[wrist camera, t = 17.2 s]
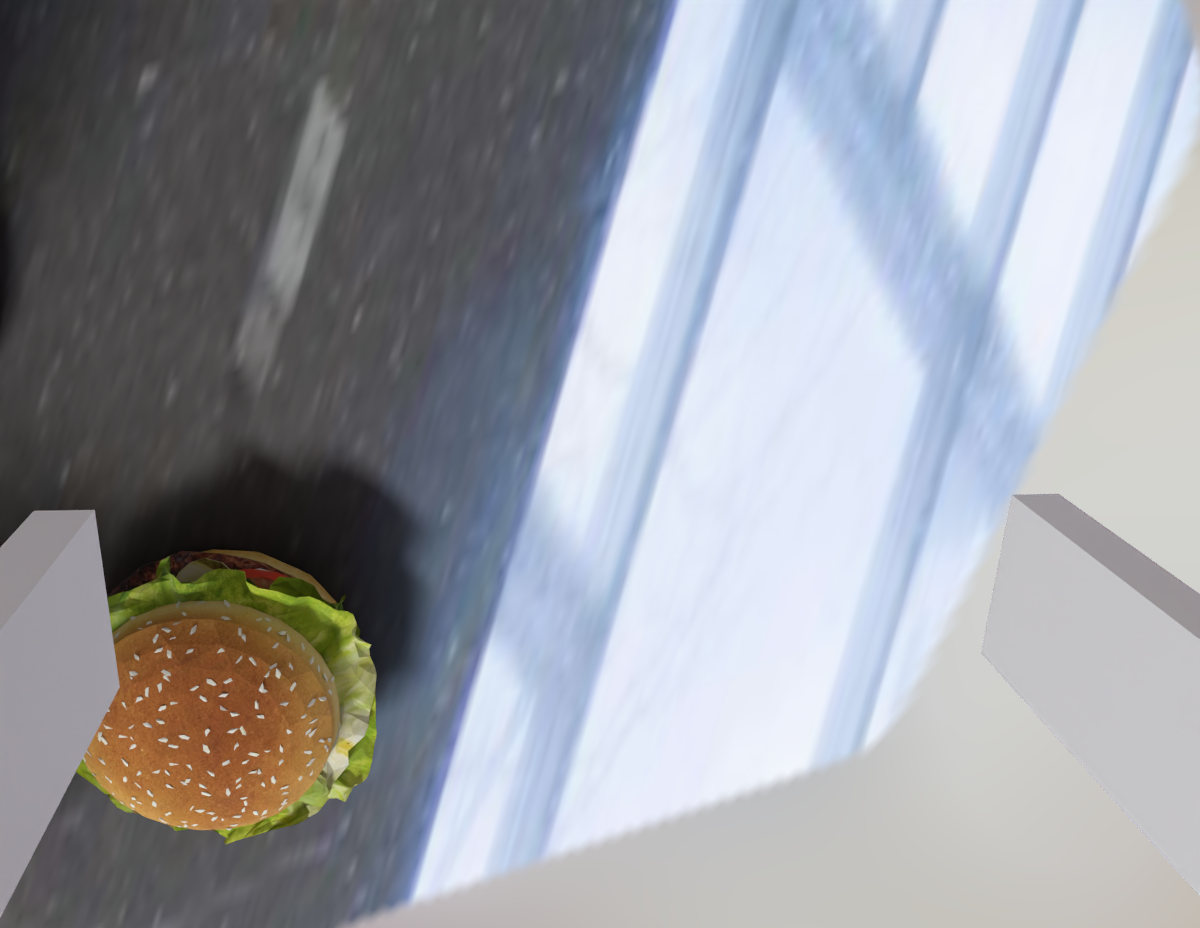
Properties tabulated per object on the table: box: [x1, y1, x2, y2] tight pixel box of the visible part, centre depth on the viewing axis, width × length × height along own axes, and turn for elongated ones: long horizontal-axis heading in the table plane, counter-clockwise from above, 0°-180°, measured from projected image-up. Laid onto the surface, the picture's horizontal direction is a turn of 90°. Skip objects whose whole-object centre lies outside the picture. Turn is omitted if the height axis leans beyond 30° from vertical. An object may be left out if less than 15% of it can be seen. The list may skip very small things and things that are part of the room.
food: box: [76, 549, 377, 844], centre depth 47 cm, size 14×14×8 cm
